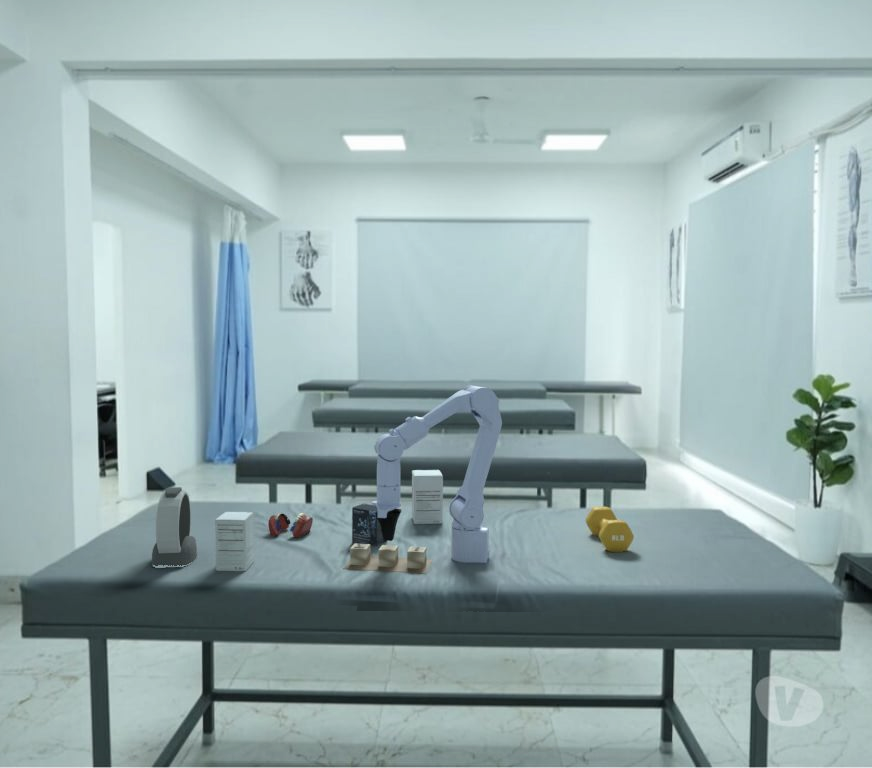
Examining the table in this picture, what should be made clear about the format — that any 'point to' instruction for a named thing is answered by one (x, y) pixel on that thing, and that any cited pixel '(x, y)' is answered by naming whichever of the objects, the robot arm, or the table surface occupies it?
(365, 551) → the letter t cube
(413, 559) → the block one
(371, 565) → the walnut board
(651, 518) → the table surface
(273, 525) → the teeth model
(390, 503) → the robot arm
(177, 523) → the alarm clock
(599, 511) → the dumbbell
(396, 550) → the plain block
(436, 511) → the supplement box
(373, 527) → the box
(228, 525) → the supplement box
